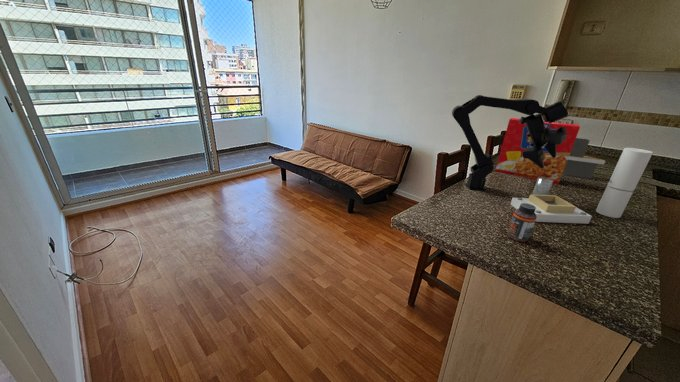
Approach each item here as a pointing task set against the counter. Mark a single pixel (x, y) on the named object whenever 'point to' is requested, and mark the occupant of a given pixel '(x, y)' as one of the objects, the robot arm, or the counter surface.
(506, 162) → the pasta box
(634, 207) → the counter surface
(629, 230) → the counter surface
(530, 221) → the supplement bottle
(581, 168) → the architectural model
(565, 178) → the counter surface
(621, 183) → the cylindrical container
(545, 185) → the spout can
